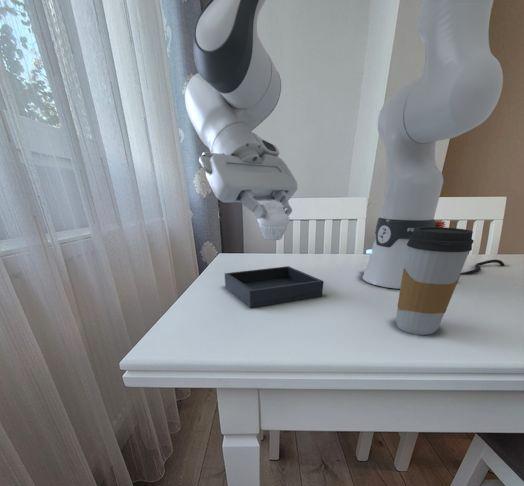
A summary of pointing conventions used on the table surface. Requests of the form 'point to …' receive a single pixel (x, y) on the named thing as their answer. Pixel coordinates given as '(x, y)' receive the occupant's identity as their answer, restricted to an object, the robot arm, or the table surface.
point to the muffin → (274, 221)
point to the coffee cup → (430, 276)
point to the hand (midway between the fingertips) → (276, 215)
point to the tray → (272, 286)
